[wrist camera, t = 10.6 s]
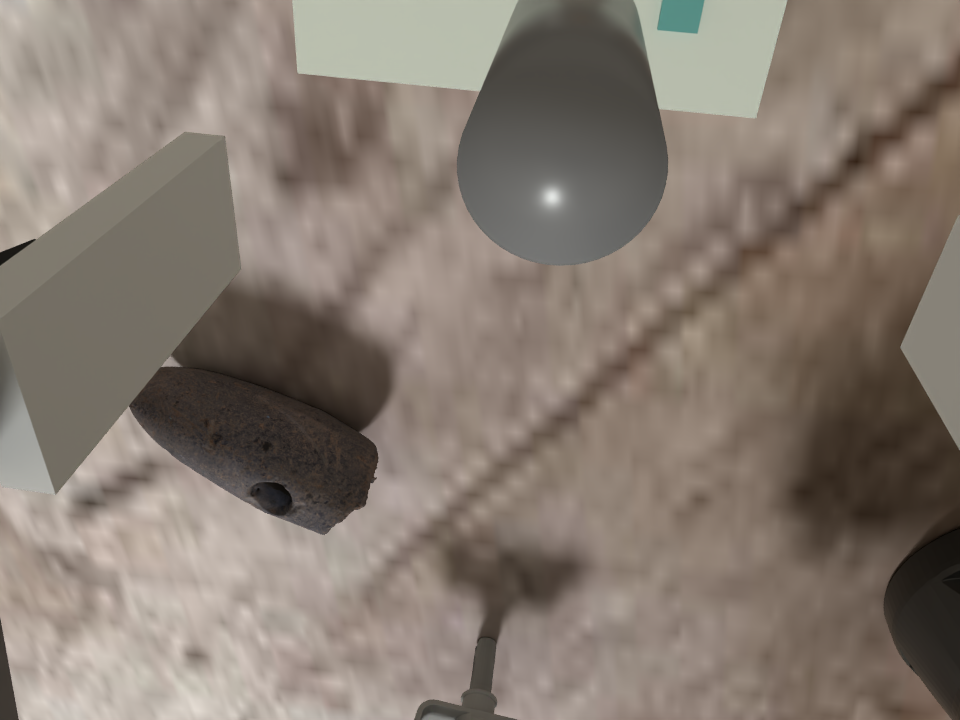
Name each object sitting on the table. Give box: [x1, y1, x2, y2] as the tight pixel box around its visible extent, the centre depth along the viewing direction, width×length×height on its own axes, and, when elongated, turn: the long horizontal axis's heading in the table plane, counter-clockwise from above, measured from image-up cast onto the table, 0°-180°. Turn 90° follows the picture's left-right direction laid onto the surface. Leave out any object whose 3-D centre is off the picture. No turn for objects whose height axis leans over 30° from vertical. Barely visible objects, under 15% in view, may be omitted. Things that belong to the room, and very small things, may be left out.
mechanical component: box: [414, 637, 517, 720], centre depth 56 cm, size 3×10×10 cm, turn 77°
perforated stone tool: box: [129, 367, 378, 535], centre depth 46 cm, size 15×5×7 cm, turn 63°
